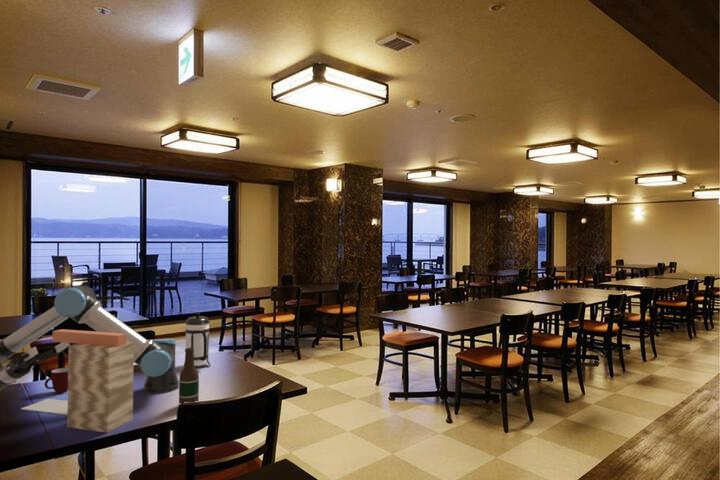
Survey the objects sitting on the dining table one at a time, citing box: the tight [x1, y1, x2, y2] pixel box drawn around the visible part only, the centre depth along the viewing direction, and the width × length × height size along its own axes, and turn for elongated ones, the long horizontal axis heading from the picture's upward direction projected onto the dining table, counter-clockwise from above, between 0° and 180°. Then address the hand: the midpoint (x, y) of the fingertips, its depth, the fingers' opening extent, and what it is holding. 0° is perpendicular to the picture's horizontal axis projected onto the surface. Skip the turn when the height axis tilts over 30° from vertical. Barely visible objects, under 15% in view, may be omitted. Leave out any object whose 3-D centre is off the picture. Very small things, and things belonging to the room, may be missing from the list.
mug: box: [44, 367, 68, 394], centre depth 200 cm, size 11×8×10 cm
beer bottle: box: [178, 348, 200, 405], centre depth 186 cm, size 8×8×24 cm
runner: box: [20, 398, 68, 416], centre depth 182 cm, size 30×12×1 cm, turn 76°
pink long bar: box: [52, 328, 126, 347], centre depth 168 cm, size 30×4×4 cm, turn 76°
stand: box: [66, 341, 135, 433], centre depth 167 cm, size 18×12×30 cm, turn 76°
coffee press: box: [183, 312, 211, 368], centre depth 245 cm, size 17×16×30 cm
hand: (52, 346), depth 172 cm, fingers open, 13 cm apart
